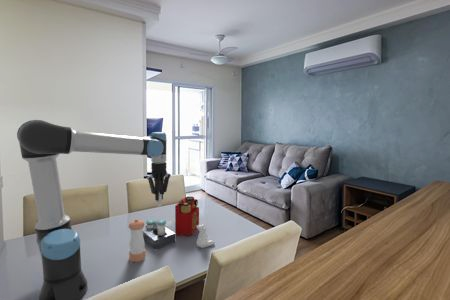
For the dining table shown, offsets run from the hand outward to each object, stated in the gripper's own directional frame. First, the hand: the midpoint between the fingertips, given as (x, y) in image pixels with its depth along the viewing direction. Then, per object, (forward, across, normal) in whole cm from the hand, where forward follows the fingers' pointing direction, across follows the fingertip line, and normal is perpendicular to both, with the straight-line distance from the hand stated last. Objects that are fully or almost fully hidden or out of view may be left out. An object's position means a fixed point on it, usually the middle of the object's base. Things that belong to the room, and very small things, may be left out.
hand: (159, 205), depth 128 cm
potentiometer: (+15, 0, +4) cm, 16 cm away
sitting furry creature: (+20, +15, -19) cm, 32 cm away
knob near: (+15, 0, -2) cm, 15 cm away
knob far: (+19, 0, +10) cm, 22 cm away
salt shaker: (+21, -15, -6) cm, 26 cm away
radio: (+20, +19, +1) cm, 28 cm away
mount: (+20, 0, +4) cm, 21 cm away
